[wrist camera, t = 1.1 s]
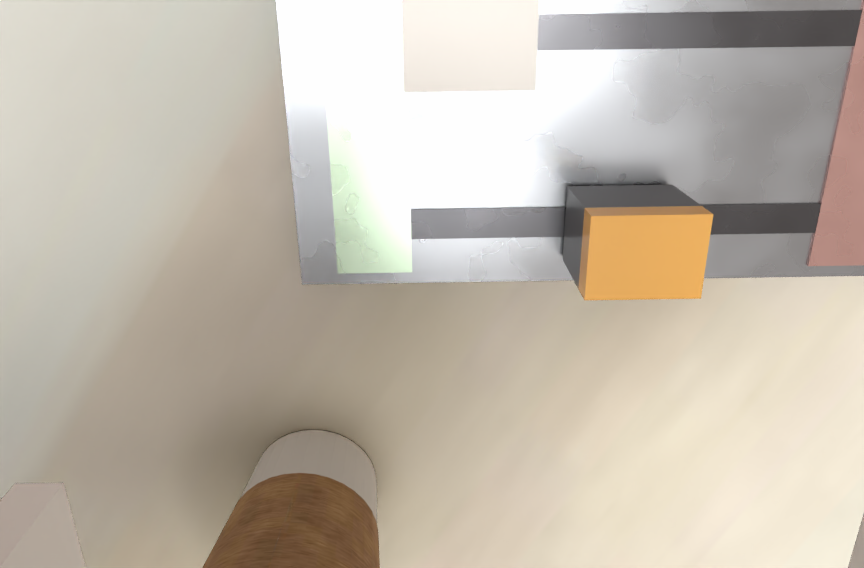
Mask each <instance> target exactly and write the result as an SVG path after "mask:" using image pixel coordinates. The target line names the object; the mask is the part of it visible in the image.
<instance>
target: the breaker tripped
mask: <svg viewBox="0 0 864 568" xmlns="http://www.w3.org/2000/svg"><path fill="white" fill-rule="evenodd" d="M712 220H713V214H712V213H711V212H710V211H708V210H707V209H705V208H704V207H703V206H701V205H700V204H698V203H697V202H696V201H694V200H693V199H692V198H690V197H689V196H687V195H686V194H685V193H683V192H682V191H680V190H679V189H678V188H676V187H675V186H673V185H608V186H567V199H566V215H565V230H564V246H563V262H564V263H565V265H566V267H567V269H568V271H569V273H570V274H571V276H572V278H573V280H574V282H575V284H576V286H577V287H578V289H579V291H580V293H581V295H582V297H583V298H584V300H633V299H696V298H701V294H702V287H703V281H704V274H705V267H706V260H707V254H708V247H709V240H710V234H711V227H712Z"/></svg>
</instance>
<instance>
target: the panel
mask: <svg viewBox="0 0 864 568" xmlns="http://www.w3.org/2000/svg"><path fill="white" fill-rule="evenodd" d="M276 8H277V19H278V30H279V41H280V52H281V62H282V73H283V84H284V95H285V106H286V116H287V127H288V138H289V149H290V160H291V170H292V181H293V192H294V203H295V214H296V224H297V235H298V246H299V257H300V268H301V278H302V284H365V283H429V282H493V281H557V280H573V278H572V276H571V274H570V273H569V271H568V269H567V267H566V265H565V263H564V262H563V246H564V230H565V215H566V199H567V186H608V185H673V186H675V187H676V188H678V189H679V190H680V191H682V192H683V193H685V194H686V195H687V196H689V197H690V198H692V199H693V200H694V201H696V202H697V203H698V204H700V205H701V206H703V207H704V208H705V209H707V210H708V211H710V212H711V213H712V214H713V220H712V227H711V234H710V240H709V247H708V254H707V260H706V267H705V274H704V278H748V277H812V276H864V0H539V22H538V45H537V68H536V90H527V91H458V92H404V76H403V39H402V3H401V0H276Z"/></svg>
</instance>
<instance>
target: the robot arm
mask: <svg viewBox="0 0 864 568" xmlns="http://www.w3.org/2000/svg"><path fill="white" fill-rule="evenodd" d="M0 568H86V566H85V562H84V558H83V554H82V551H81V547H80V543H79V539H78V535H77V531H76V528H75V524H74V520H73V516H72V512H71V508H70V505H69V501H68V497H67V493H66V489H65V485H64V483H15V484H14V485H13V486H12V487H11V489H10V490H9V491H8V492H7V493H6V494H5V496H4V497H3V498H2V499H1V500H0ZM848 568H864V514H863V518H862V521H861V525H860V528H859V532H858V535H857V538H856V542H855V545H854V549H853V552H852V555H851V559H850V562H849V566H848Z"/></svg>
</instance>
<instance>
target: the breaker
mask: <svg viewBox="0 0 864 568" xmlns="http://www.w3.org/2000/svg"><path fill="white" fill-rule="evenodd" d="M401 3H402V39H403V76H404V92H458V91H527V90H536V68H537V45H538V22H539V0H401Z"/></svg>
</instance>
